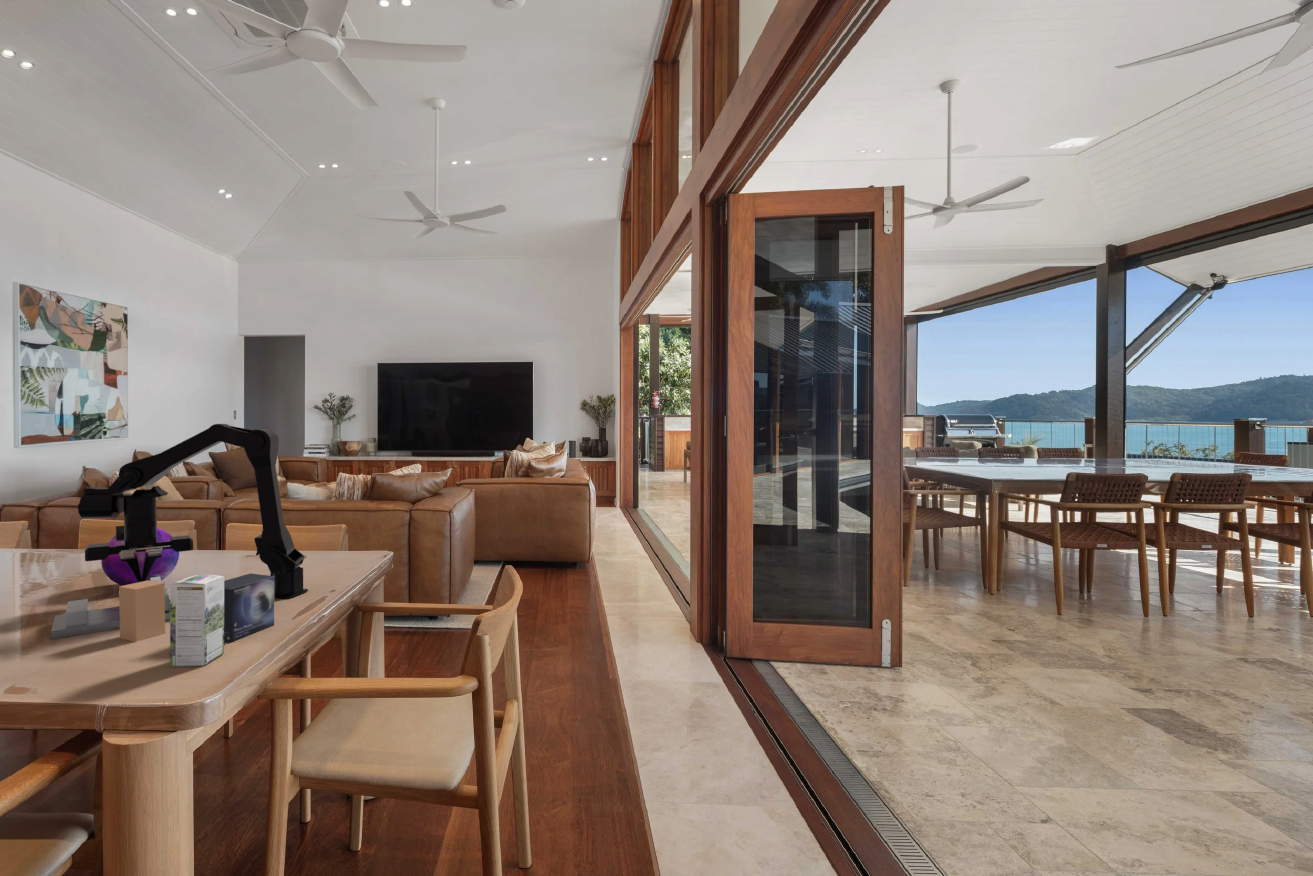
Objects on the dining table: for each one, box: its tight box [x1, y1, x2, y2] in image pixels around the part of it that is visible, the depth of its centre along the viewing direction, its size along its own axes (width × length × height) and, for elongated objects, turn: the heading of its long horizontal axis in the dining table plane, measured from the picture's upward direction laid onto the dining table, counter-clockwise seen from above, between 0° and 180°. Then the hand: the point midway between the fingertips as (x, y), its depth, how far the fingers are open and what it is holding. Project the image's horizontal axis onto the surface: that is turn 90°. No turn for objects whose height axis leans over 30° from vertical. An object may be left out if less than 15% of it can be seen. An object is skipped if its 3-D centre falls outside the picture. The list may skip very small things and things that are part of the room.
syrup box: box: [169, 574, 225, 667], centre depth 110 cm, size 6×6×14 cm
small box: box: [224, 572, 275, 643], centre depth 125 cm, size 11×6×10 cm, turn 168°
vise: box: [50, 598, 170, 640], centre depth 132 cm, size 22×12×4 cm, turn 131°
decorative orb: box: [100, 527, 180, 586], centre depth 157 cm, size 15×15×15 cm
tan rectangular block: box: [118, 580, 166, 642], centre depth 122 cm, size 5×5×10 cm
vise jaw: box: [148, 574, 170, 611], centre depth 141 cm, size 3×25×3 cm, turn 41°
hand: (141, 585), depth 143 cm, fingers closed
